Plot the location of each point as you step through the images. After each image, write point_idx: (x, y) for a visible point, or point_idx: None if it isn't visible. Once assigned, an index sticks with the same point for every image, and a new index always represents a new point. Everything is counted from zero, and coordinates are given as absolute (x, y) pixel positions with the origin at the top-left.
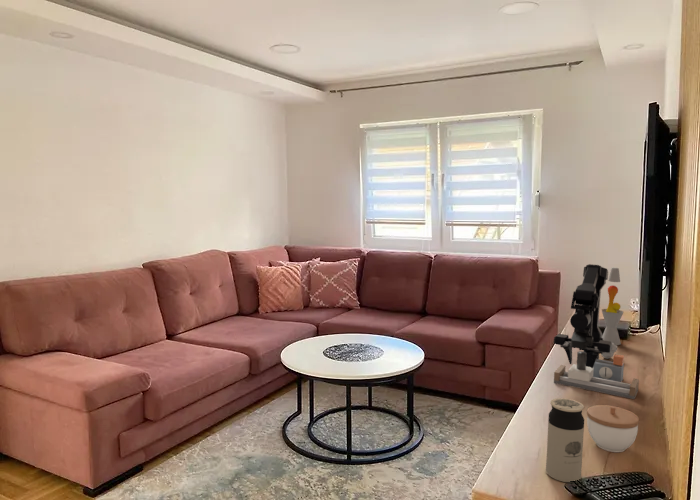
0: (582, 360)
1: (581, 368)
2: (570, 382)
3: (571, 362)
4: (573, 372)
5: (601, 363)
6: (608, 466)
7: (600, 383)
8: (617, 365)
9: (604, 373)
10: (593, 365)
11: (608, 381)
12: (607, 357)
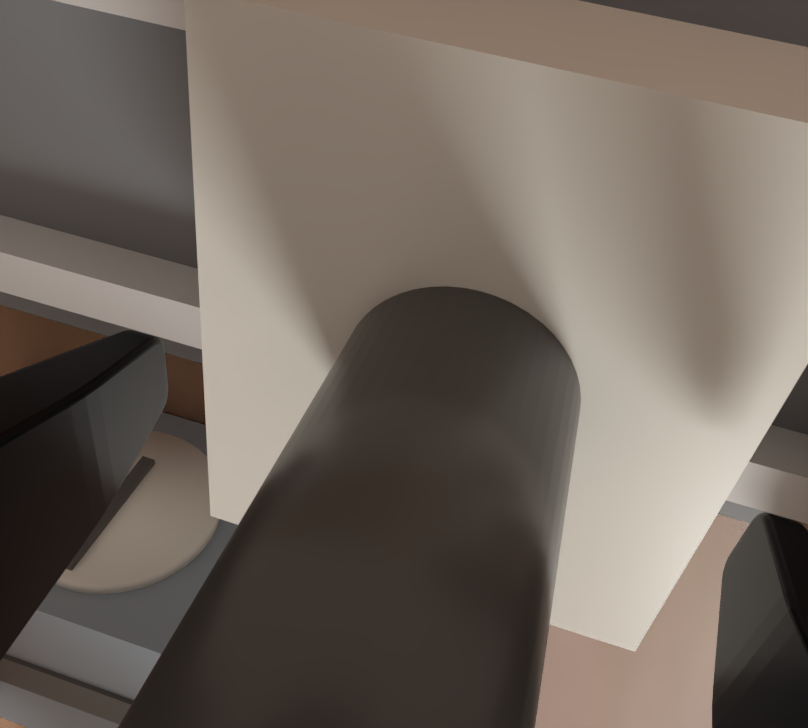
0: (320, 514)
1: (434, 314)
2: (765, 13)
3: (739, 586)
4: (719, 82)
5: (131, 673)
6: None
7: (174, 210)
8: None
9: (141, 494)
10: (49, 377)
11: (46, 254)
12: None
